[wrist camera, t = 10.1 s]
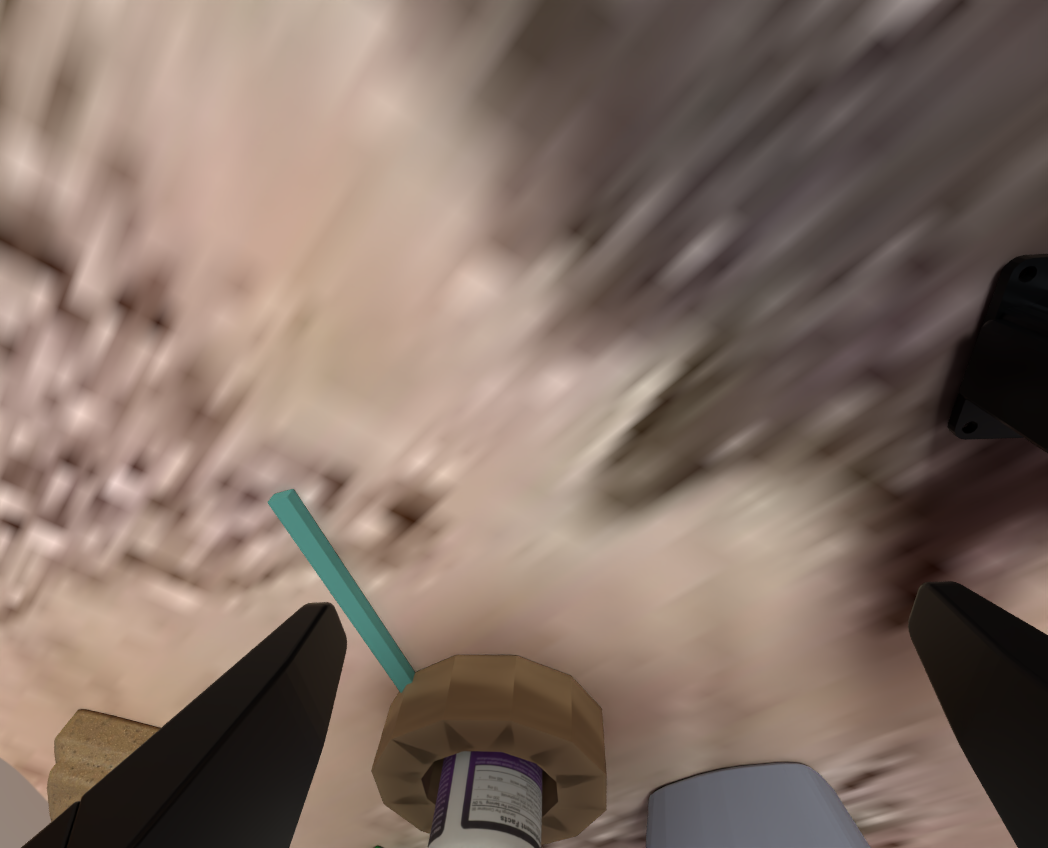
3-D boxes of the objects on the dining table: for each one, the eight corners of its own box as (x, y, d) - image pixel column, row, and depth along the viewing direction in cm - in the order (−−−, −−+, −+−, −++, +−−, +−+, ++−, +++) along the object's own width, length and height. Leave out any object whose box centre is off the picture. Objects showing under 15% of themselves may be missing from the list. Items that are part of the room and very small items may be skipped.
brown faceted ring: (601, 655, 27) (606, 721, 24) (602, 784, 33) (606, 851, 30) (374, 654, 28) (351, 718, 25) (413, 780, 34) (398, 844, 31)
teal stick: (424, 687, 29) (422, 697, 29) (408, 689, 30) (405, 700, 29) (293, 488, 23) (287, 497, 23) (273, 494, 23) (267, 502, 23)
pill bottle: (487, 759, 33) (462, 983, 24) (432, 712, 31) (383, 937, 22) (562, 734, 31) (563, 965, 22) (509, 682, 29) (488, 913, 20)
